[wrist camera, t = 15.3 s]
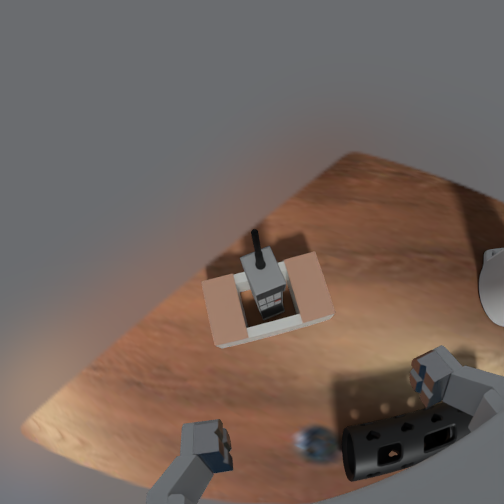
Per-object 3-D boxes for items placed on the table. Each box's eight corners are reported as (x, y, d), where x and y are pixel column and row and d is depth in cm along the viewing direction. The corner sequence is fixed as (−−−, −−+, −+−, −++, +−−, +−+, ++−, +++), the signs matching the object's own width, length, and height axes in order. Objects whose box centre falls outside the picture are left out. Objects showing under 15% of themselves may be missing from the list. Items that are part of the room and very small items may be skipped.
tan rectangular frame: (311, 264, 50) (314, 251, 45) (329, 319, 46) (335, 312, 41) (209, 291, 50) (201, 281, 45) (222, 348, 46) (214, 345, 41)
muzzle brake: (339, 419, 40) (355, 431, 30) (477, 382, 38) (511, 379, 29) (341, 470, 36) (355, 492, 27) (478, 428, 34) (510, 432, 25)
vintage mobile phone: (263, 321, 47) (246, 270, 24) (252, 293, 49) (226, 221, 26) (284, 312, 48) (288, 253, 25) (273, 285, 50) (265, 206, 27)
